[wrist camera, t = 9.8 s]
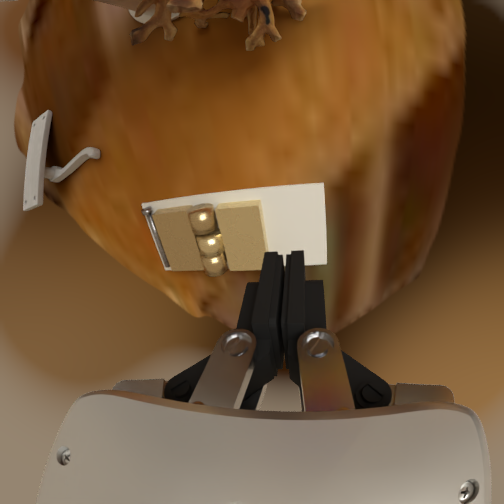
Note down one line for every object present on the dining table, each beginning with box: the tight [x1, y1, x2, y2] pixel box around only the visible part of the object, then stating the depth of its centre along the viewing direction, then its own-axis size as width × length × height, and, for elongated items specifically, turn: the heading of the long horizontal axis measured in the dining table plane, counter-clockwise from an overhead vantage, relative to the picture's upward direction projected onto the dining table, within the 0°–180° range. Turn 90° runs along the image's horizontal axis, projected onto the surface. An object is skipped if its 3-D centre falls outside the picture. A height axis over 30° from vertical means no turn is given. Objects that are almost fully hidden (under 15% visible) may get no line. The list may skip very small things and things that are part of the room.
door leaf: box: [196, 199, 269, 271], centre depth 46 cm, size 12×11×4 cm
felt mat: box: [141, 183, 327, 270], centre depth 48 cm, size 15×32×1 cm, turn 99°
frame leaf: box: [152, 203, 229, 277], centre depth 47 cm, size 12×11×4 cm
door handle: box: [23, 110, 100, 211], centre depth 41 cm, size 18×8×20 cm
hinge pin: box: [141, 206, 170, 268], centre depth 50 cm, size 13×2×2 cm, turn 9°
